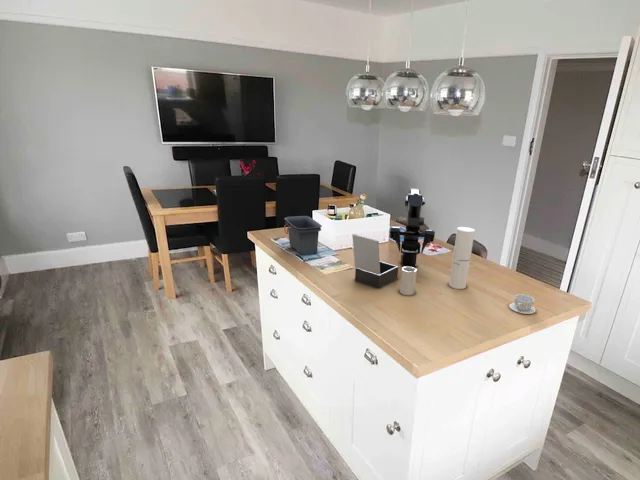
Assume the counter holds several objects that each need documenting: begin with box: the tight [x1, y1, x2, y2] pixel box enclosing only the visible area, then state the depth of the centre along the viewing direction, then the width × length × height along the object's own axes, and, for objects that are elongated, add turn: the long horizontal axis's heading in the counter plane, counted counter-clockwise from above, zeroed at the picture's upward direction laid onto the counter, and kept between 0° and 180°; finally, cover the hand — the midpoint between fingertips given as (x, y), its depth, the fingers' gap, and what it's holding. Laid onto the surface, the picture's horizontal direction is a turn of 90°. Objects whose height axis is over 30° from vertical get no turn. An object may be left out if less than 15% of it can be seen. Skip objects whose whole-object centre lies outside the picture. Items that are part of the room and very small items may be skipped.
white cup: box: [399, 266, 418, 296], centre depth 168 cm, size 6×6×10 cm
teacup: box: [508, 293, 537, 315], centre depth 162 cm, size 10×10×5 cm
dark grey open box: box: [354, 260, 399, 289], centre depth 179 cm, size 14×12×6 cm
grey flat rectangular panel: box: [352, 233, 381, 275], centre depth 168 cm, size 15×12×1 cm
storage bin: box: [284, 215, 323, 256], centre depth 206 cm, size 21×16×14 cm
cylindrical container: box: [448, 226, 476, 290], centre depth 175 cm, size 7×7×25 cm
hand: (410, 252), depth 174 cm, fingers open, 9 cm apart
